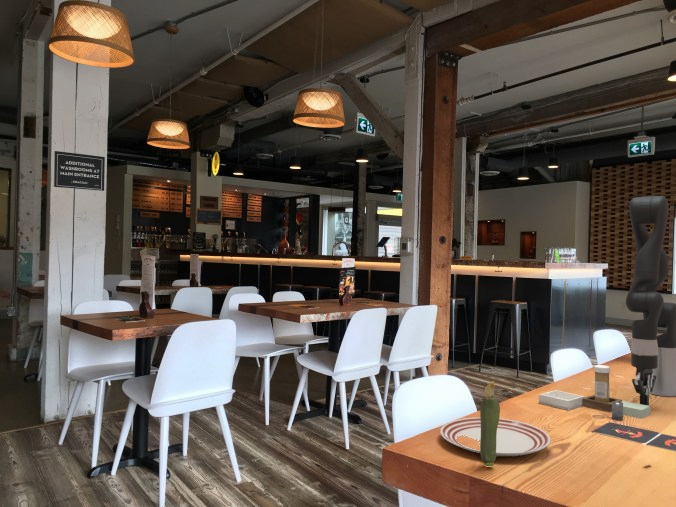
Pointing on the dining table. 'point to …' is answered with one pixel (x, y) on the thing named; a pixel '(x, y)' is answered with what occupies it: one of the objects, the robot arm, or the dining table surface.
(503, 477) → the dining table surface
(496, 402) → the vegetable
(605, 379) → the sprinkles bottle
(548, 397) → the tray
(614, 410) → the cylinder
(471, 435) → the dinner plate
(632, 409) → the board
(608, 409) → the socket block
